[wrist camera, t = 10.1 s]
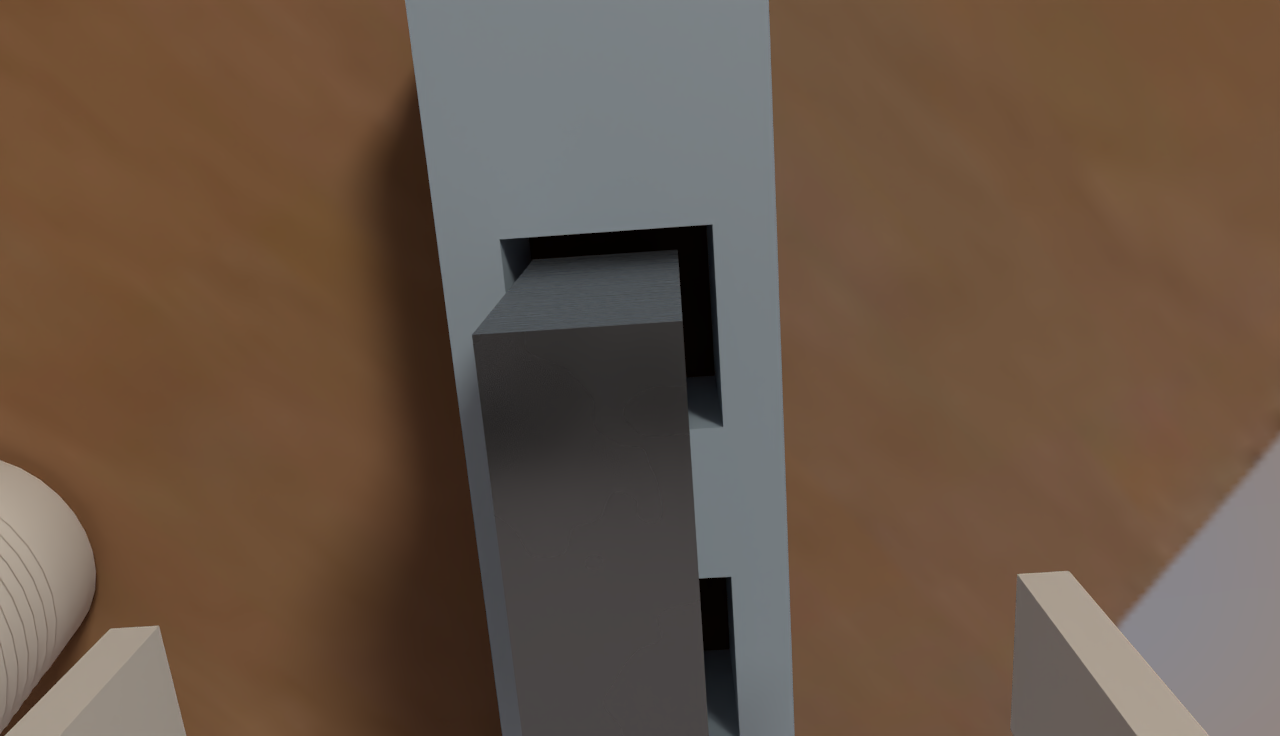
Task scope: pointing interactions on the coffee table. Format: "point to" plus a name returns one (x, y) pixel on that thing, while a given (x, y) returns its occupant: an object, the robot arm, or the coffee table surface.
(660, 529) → the clip
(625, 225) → the grey block with hole
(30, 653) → the cup
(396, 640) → the coffee table surface
